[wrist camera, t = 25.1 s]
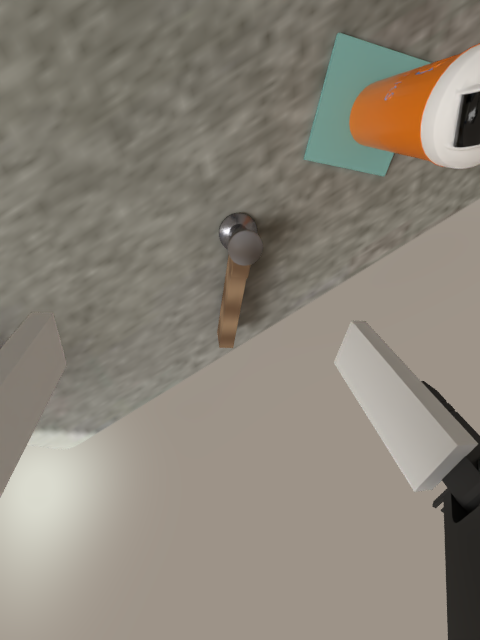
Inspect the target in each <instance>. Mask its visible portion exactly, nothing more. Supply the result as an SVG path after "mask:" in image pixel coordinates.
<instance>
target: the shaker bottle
mask: <svg viewBox="0 0 480 640" xmlns="http://www.w3.org/2000/svg"><path fill="white" fill-rule="evenodd" d="M349 125H350V131H351V134H352V136H353V138H354V140H355V141H356V142H357V143H359V144H360V145H363V146H367V147H371V148H376V149H380V150H384V151H389V152H393V153H397V154H402V155H406V156H411V157H415V158H419V159H424V160H428V161H431V162H432V163H434V164H435V165H438V166H441V167H449V168H455V169H465V168H470V167H473V166H476V165H478V164H480V44H478V45H475V46H473V47H471V48H469V49H468V50H466V51H465V52H463V53H461V54H458V55H455V56H452V57H449V58H446V59H443V60H440V61H437V62H434V63H431V64H428V65H425V66H422V67H419V68H416V69H413V70H410V71H407V72H404V73H401V74H398V75H395V76H392V77H389V78H386V79H383V80H380V81H377V82H374V83H372V84H370V85H369V86H367V87H366V88H365V89H364V90H363V91H362V92H361V93H360V94H359V95H358V97H357V98H356V100H355V102H354V104H353V106H352V109H351V113H350V120H349Z"/></svg>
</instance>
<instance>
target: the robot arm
mask: <svg viewBox="0 0 480 640" xmlns="http://www.w3.org/2000/svg"><path fill="white" fill-rule="evenodd" d="M334 364H335V365H336V367H337V368H338V370H339V372H340V373H341V375H342V377H343V378H344V379H345V381H346V383H347V385H348V386H349V388H350V389H351V391H352V393H353V394H354V396H355V397H356V399H357V401H358V402H359V404H360V405H361V407H362V409H363V410H364V412H365V413H366V415H367V417H368V418H369V420H370V421H371V423H372V425H373V426H374V428H375V429H376V431H377V433H378V434H379V436H380V437H381V439H382V441H383V442H384V444H385V445H386V447H387V448H388V450H389V452H390V453H391V455H392V456H393V458H394V460H395V461H396V463H397V465H398V466H399V468H400V469H401V471H402V473H403V474H404V476H405V477H406V479H407V481H408V482H409V484H410V485H411V487H412V489H413V490H414V492H416V491H424V490H433V489H434V487H436V486H437V485H438V484H439V483H440V482H441V481H443V482H444V483H445V485H446V486H447V489H446V490H445V491H444V492H443V493H442V494H441V495H440V496H439V497H438V498H437V499H436V500H435V501H434V502H433V507H435V508H437V507H438V506H439V505H440V504H441V503H442V502H444V507H443V508H442V509H441V511H442V512H443V513H444V524H445V525H444V528H445V556H446V557H445V559H446V589H447V622H448V640H480V436H479V435H478V434H477V433H476V431H475V430H474V429H473V428H472V427H471V426H470V425H469V424H468V423H467V422H466V421H465V420H464V419H463V418H462V417H461V416H460V415H459V414H458V413H457V412H455V409H454V408H453V407H452V406H451V405H450V404H449V403H447V402H446V400H445V399H444V398H443V397H442V396H441V395H440V393H439V392H438V391H437V390H435V389H434V388H432V387H431V386H430V385H428V384H427V383H426V382H424V381H420V380H419V379H418V378H417V377H416V375H415V374H414V373H413V372H412V371H411V370H410V369H409V368H408V367H407V366H406V365H405V363H403V361H402V360H401V359H400V358H399V357H398V356H397V355H396V354H395V353H394V352H393V350H392V349H391V348H390V347H389V346H388V345H387V344H386V343H385V342H384V341H383V340H382V339H381V337H380V336H379V335H378V334H377V333H376V332H375V331H374V330H373V329H372V328H371V327H370V326H369V324H368V323H367V322H366V321H351V323H350V325H349V328H348V330H347V333H346V335H345V337H344V340H343V342H342V345H341V347H340V349H339V352H338V354H337V357H336V359H335V361H334ZM66 366H67V363H66V359H65V355H64V351H63V348H62V344H61V340H60V336H59V333H58V329H57V325H56V322H55V318H54V314H53V313H46V312H31V313H30V314H29V315H28V317H27V318H26V319H25V320H24V321H23V323H22V324H21V325H20V326H19V327H18V329H17V330H16V331H15V332H14V333H13V335H12V336H11V337H10V338H9V339H8V340H7V342H6V343H5V344H4V345H3V346H2V348H1V349H0V497H1V495H2V493H3V491H4V489H5V487H6V485H7V483H8V481H9V479H10V477H11V475H12V473H13V471H14V469H15V467H16V465H17V463H18V461H19V459H20V457H21V455H22V453H23V451H24V449H25V447H26V445H27V443H28V441H29V439H30V437H31V435H32V433H33V431H34V429H35V427H36V425H37V423H38V421H39V419H40V417H41V415H42V413H43V411H44V409H45V407H46V405H47V403H48V401H49V399H50V397H51V395H52V393H53V391H54V389H55V388H56V386H57V384H58V382H59V380H60V378H61V376H62V374H63V372H64V370H65V368H66Z"/></svg>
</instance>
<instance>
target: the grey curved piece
mask: <svg viewBox="0 0 480 640" xmlns="http://www.w3.org/2000/svg"><path fill="white" fill-rule="evenodd" d="M243 229H248V230H252V231H254V232H255V233H257V226H256V224H255V222H254V221H253V219H252V218H251V217H250V216H248V215H246V214H244V213H234V214H231V215H229V216H227V217H226V218H225V219H224V220H223V221H222V223H221V225H220V228H219V237H220V241H221V243H222V244H223V246H224V247H225V248H226V249H228V242H229V239H230V237H231V236H232V235H233V234H234V233H235V232H237V231H239V230H243Z"/></svg>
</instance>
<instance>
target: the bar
mask: <svg viewBox="0 0 480 640" xmlns="http://www.w3.org/2000/svg"><path fill="white" fill-rule="evenodd" d="M262 251H263V243H262V241H261V239H260V237H259V236H258V234H257V233H255V232H254V231H252V230H248V229H243V230H239V231H237V232H235V233H234V234H233V235H232V236H231V237H230V239H229V242H228V253H229V256H228V263H227V270H226V277H225V283H224V290H223V297H222V304H221V310H220V317H219V324H218V331H217V334H218V340H219V347H220V348H233V345H234V340H235V335H236V330H237V325H238V319H239V314H240V309H241V304H242V299H243V294H244V288H245V283H246V278H248V275H249V270H250V265H251V264H253V263H255V262H256V261H257V260H258V259H259V258H260V256H261V254H262Z"/></svg>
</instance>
